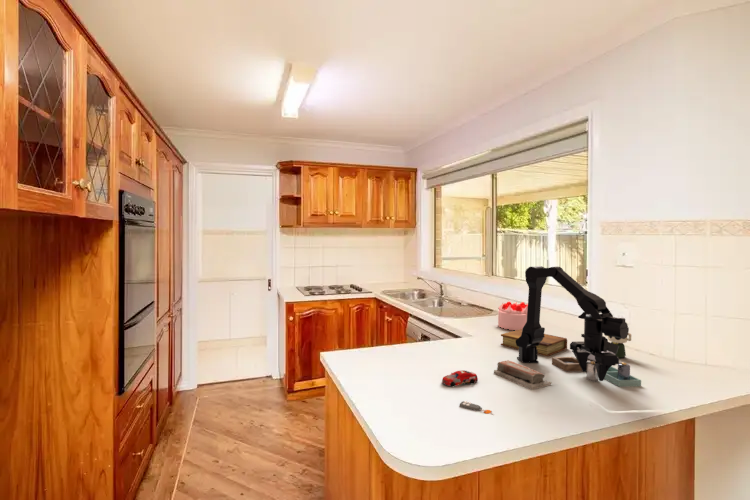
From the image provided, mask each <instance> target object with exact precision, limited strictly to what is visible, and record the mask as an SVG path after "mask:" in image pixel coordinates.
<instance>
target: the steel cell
mask: <svg viewBox="0 0 750 500" xmlns="http://www.w3.org/2000/svg"><path fill="white" fill-rule="evenodd" d="M595 362H596V361H593V360H590V361H587V371H586V380H587V381H589V382H593V383H594V382H595V383H596V382H597V383H598V382H599V378H598V374H597V370H596V366H595Z"/></svg>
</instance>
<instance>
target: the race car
mask: <svg viewBox="0 0 750 500" xmlns="http://www.w3.org/2000/svg"><path fill="white" fill-rule="evenodd" d="M478 379H479V378H478V374H477V373H475V372H473V371H468V370H457V371H453V372H451V373H450V374H448V375H445V376H443V377H442V380H441V382H442V384H443V385H445V386H447V387H448V386H449V387H450V388H453V386H454V387H455V386H456V387H457V386H463V385H473V384H475V383H477V382H478Z"/></svg>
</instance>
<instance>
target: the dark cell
mask: <svg viewBox="0 0 750 500" xmlns="http://www.w3.org/2000/svg"><path fill="white" fill-rule="evenodd" d="M617 369H618V378H617V379H618V380H630V375H631V365H630V364H628V363H626V362H619V364H617Z"/></svg>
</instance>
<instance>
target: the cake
mask: <svg viewBox="0 0 750 500" xmlns="http://www.w3.org/2000/svg"><path fill="white" fill-rule="evenodd" d="M497 308H498V315H497V317H498V318H497V323H498V324H497V325H498V327H499V328H500V327H501V329H503V328H504V329H503V330H507V329H509V330H508V331H513V330H519V329H523V327H524V325H525V324H526V322H527V309H528V303H525V302H524V301H522V302H520V303H518V302H517V301H516V302H515V303H512V302H511V301H507V302H506V303H504V302H502V303H501V304H500V305H499V306H498V307H497Z"/></svg>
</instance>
